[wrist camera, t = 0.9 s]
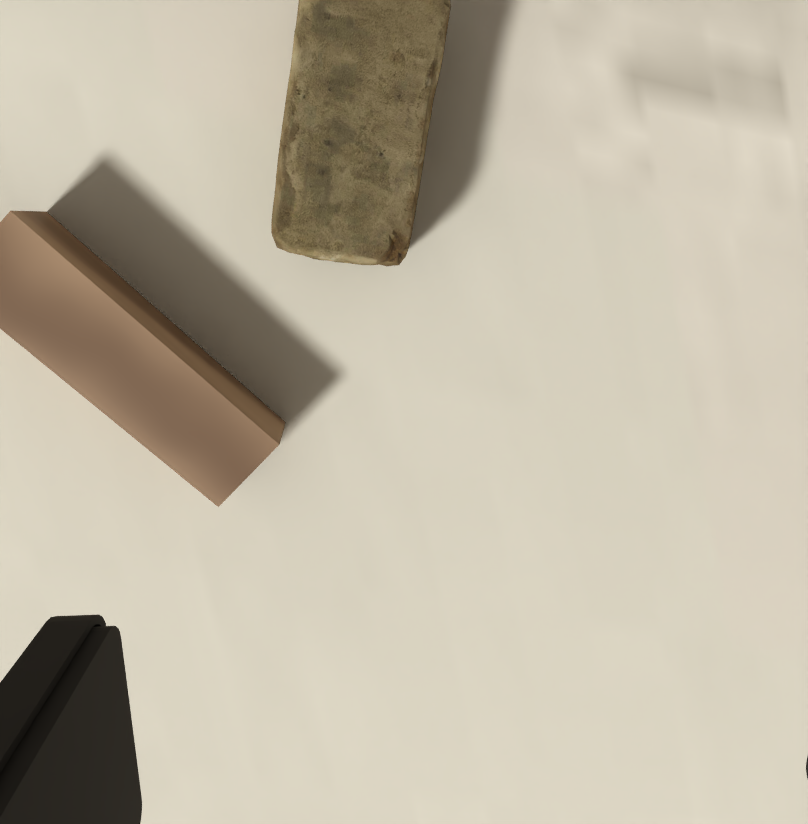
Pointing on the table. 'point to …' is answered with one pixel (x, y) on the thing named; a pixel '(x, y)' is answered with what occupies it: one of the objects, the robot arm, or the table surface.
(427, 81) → the stone block
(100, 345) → the brown rectangular bar
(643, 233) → the table surface
